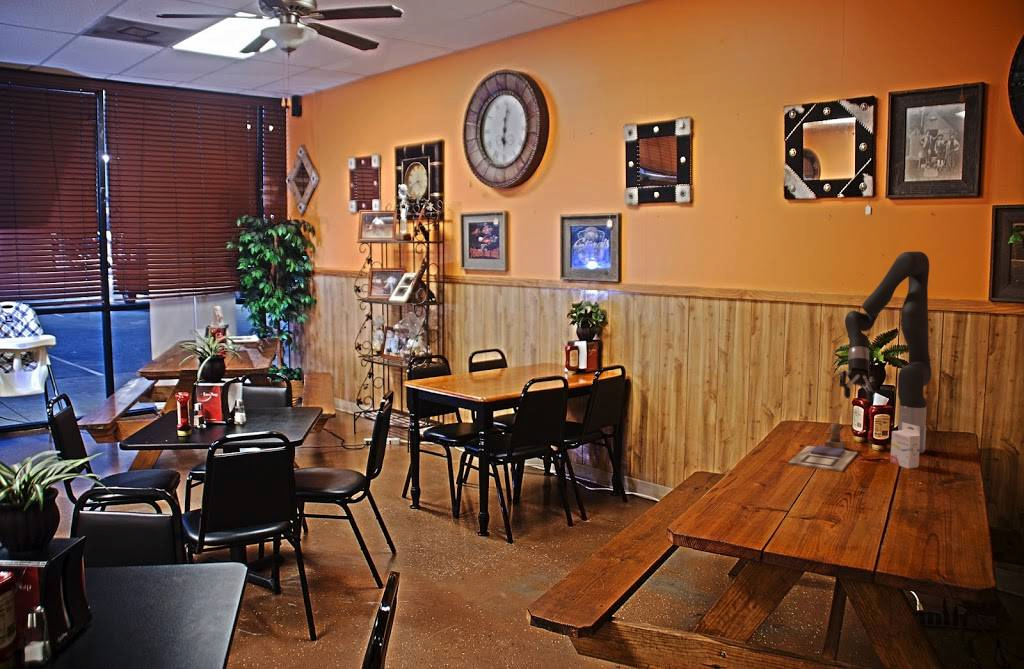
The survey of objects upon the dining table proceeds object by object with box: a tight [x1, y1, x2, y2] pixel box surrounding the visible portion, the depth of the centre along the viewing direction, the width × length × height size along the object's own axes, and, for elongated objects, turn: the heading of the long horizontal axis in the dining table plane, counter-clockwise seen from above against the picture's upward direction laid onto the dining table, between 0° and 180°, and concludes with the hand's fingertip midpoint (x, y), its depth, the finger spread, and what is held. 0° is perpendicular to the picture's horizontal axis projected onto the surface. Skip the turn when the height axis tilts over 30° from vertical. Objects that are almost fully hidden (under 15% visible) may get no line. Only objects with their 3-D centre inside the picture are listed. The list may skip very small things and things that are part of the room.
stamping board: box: [788, 445, 858, 472], centre depth 306 cm, size 18×28×2 cm, turn 147°
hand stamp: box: [824, 422, 846, 449], centre depth 321 cm, size 6×6×9 cm
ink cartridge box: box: [889, 422, 920, 470], centre depth 297 cm, size 9×5×15 cm, turn 22°
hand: (858, 399), depth 323 cm, fingers open, 8 cm apart
